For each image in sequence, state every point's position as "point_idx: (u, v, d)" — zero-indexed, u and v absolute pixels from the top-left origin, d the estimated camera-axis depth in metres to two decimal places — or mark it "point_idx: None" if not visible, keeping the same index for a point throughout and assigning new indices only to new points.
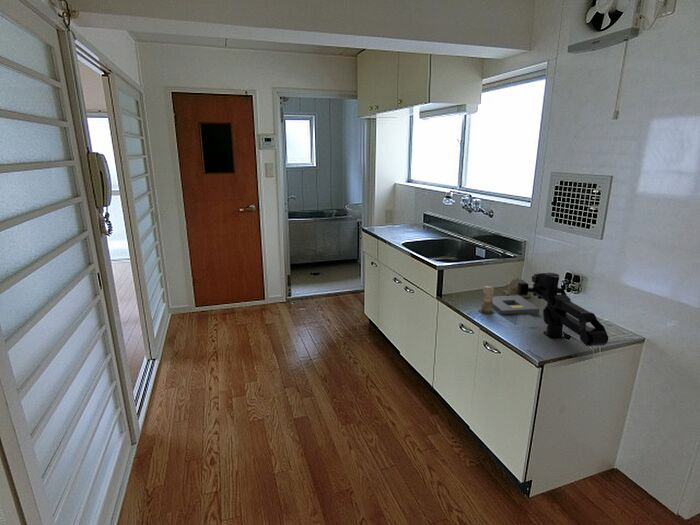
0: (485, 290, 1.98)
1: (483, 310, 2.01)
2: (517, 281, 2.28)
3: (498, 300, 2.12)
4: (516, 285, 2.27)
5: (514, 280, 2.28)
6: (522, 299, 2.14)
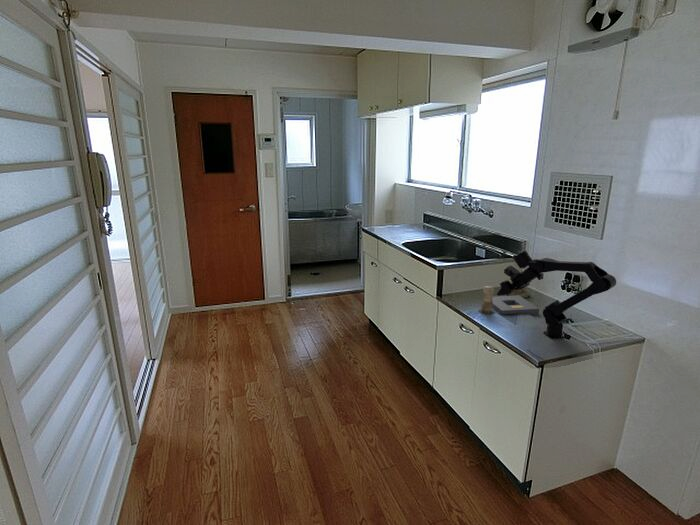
0: (485, 290, 1.98)
1: (483, 310, 2.01)
2: None
3: (498, 300, 2.12)
4: None
5: None
6: (522, 299, 2.14)
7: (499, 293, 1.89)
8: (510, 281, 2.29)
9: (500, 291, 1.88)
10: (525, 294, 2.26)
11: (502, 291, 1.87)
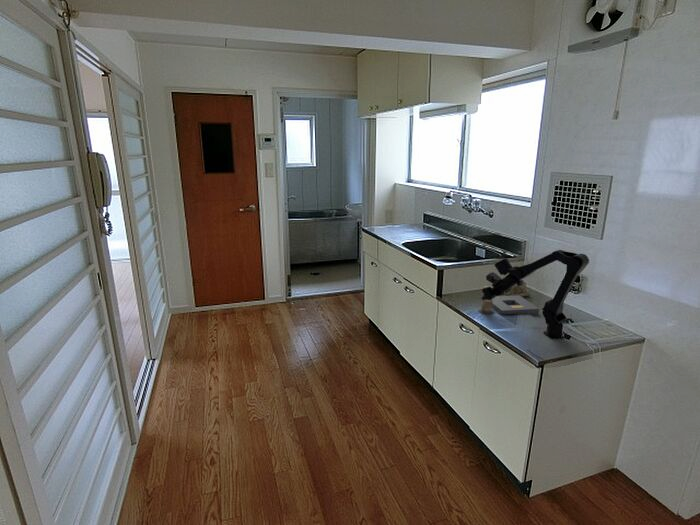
0: None
1: (483, 310, 2.01)
2: None
3: (498, 300, 2.12)
4: (515, 285, 2.27)
5: None
6: (522, 299, 2.14)
7: (484, 297, 1.99)
8: None
9: (484, 296, 1.98)
10: (525, 294, 2.26)
11: None
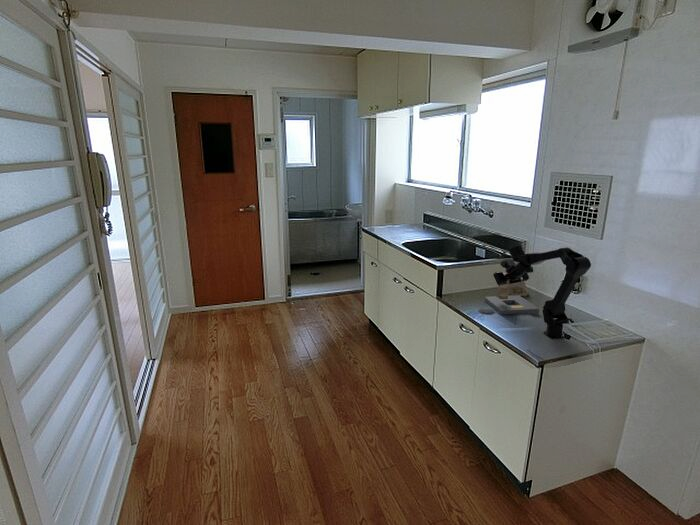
0: None
1: (498, 296, 2.06)
2: None
3: (498, 300, 2.12)
4: (515, 284, 2.28)
5: None
6: (522, 299, 2.14)
7: None
8: None
9: None
10: (524, 293, 2.27)
11: None
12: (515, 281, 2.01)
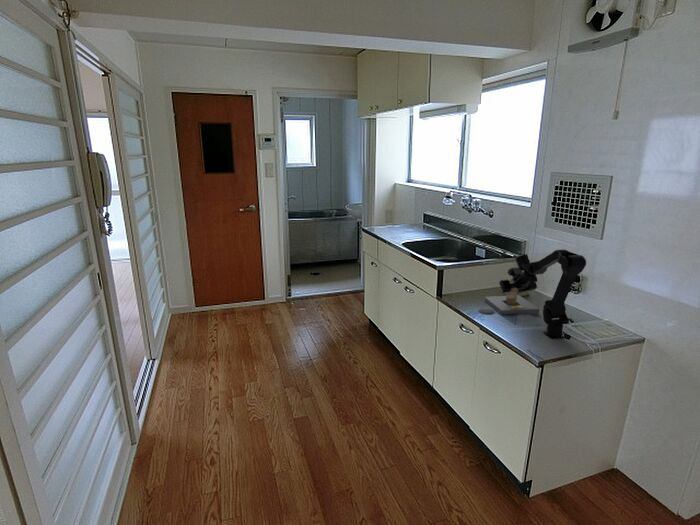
0: None
1: None
2: None
3: (498, 300, 2.12)
4: None
5: None
6: (522, 299, 2.14)
7: (502, 291, 2.07)
8: (509, 281, 2.30)
9: None
10: (524, 293, 2.27)
11: None
12: (526, 289, 2.04)
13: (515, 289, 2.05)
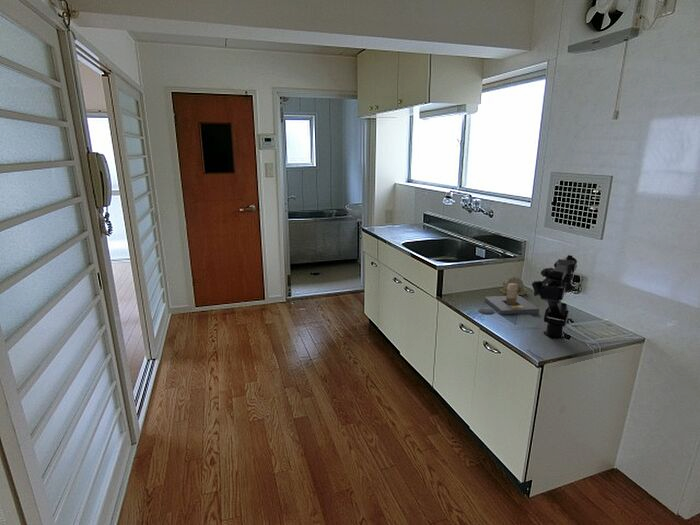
0: (508, 286, 2.07)
1: None
2: (514, 280, 2.30)
3: (498, 300, 2.12)
4: None
5: (511, 279, 2.30)
6: (522, 299, 2.14)
7: (535, 293, 1.91)
8: (507, 280, 2.30)
9: None
10: (523, 292, 2.29)
11: None
12: None
13: (515, 289, 2.05)
